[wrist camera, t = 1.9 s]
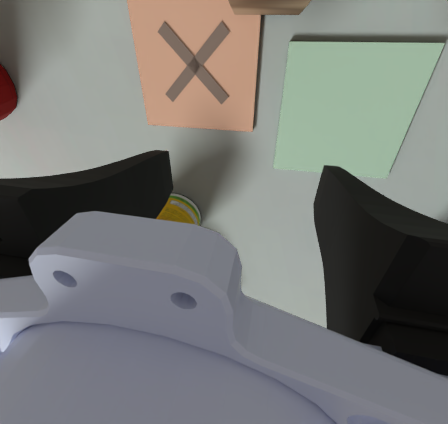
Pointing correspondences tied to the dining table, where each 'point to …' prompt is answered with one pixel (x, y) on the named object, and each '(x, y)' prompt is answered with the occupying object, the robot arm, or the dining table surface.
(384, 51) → the tile
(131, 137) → the dining table surface
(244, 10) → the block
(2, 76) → the plastic cup
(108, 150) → the dining table surface
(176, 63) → the tile
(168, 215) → the supplement bottle
